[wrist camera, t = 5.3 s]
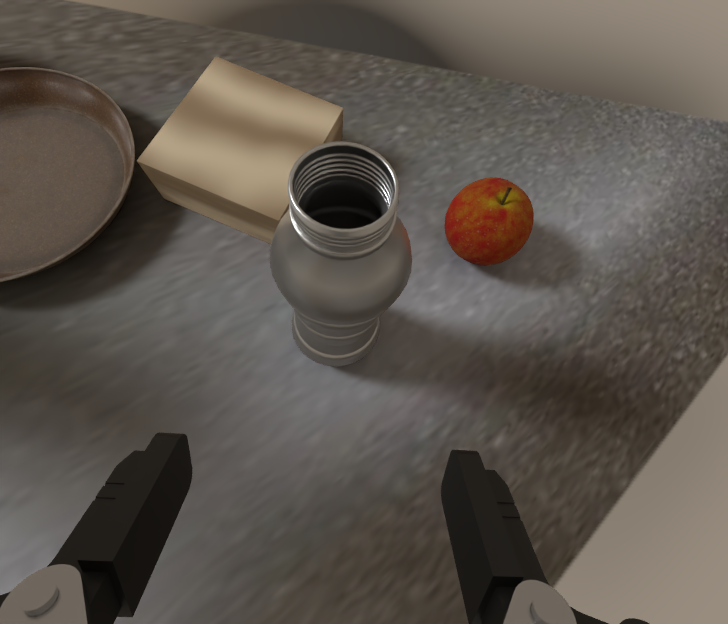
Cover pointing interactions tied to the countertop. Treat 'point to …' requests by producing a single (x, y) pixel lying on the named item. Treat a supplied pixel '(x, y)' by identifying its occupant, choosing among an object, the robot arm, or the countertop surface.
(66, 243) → the plant saucer
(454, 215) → the fruit
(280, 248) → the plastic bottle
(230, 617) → the countertop surface
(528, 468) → the countertop surface
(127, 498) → the robot arm
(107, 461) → the countertop surface
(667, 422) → the countertop surface
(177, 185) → the block
